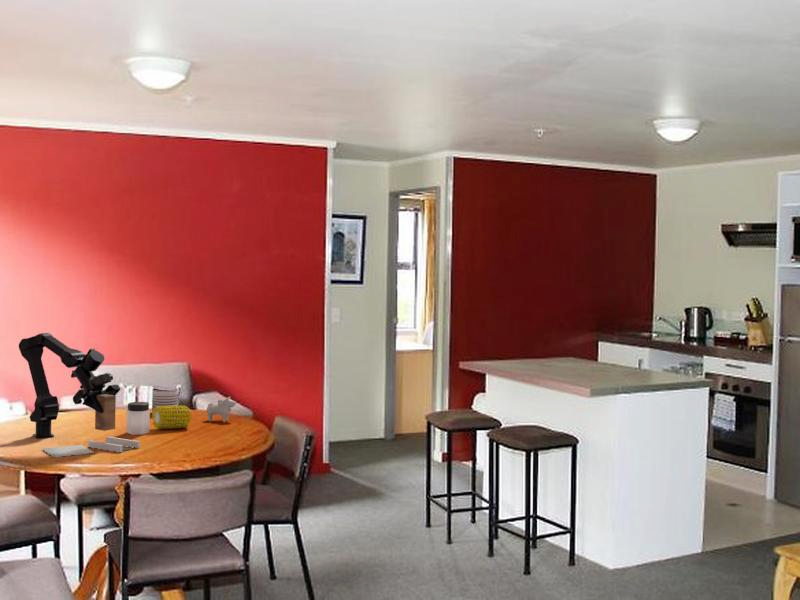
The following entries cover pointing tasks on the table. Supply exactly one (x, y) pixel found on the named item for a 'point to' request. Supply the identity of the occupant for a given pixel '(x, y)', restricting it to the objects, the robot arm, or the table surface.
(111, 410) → the post
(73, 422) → the table surface
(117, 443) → the channel
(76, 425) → the table surface
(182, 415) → the food
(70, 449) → the plate
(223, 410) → the dog figurine
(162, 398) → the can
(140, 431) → the jar
